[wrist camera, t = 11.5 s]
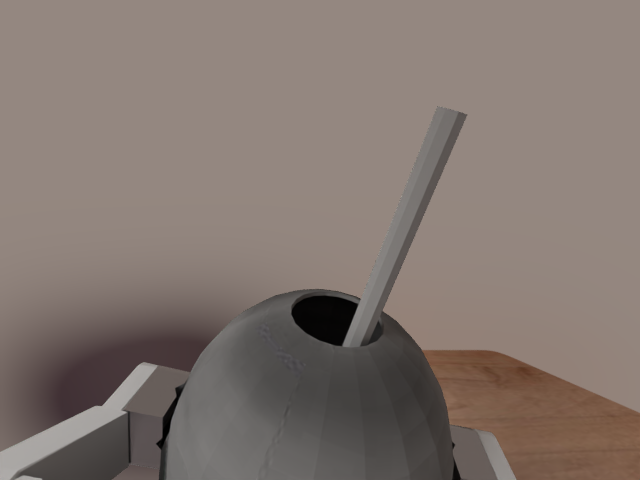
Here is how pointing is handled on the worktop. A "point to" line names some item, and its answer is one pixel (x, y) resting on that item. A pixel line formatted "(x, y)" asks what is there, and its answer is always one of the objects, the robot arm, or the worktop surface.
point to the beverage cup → (322, 376)
